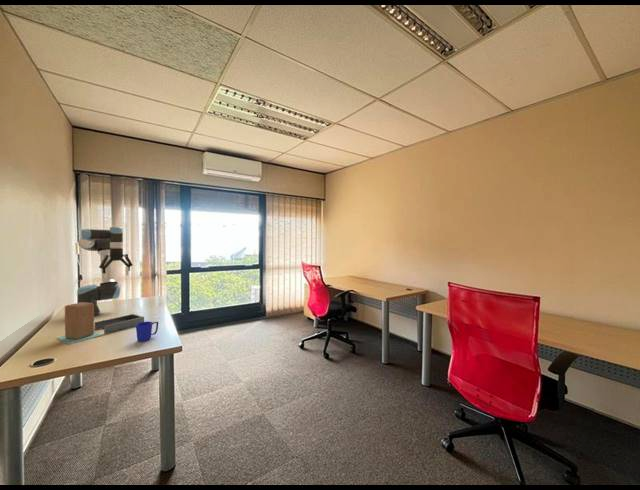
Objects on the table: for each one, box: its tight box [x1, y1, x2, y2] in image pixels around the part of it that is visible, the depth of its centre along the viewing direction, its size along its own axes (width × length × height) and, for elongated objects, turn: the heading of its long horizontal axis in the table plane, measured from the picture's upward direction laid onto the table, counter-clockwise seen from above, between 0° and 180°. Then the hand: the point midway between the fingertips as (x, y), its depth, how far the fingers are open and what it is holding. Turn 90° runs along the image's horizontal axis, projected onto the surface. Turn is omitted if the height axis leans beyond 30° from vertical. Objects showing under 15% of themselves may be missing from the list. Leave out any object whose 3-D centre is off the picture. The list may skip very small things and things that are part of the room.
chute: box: [94, 313, 145, 335], centre depth 180 cm, size 15×23×5 cm, turn 151°
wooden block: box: [64, 302, 95, 339], centre depth 161 cm, size 10×10×20 cm
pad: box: [56, 331, 103, 345], centre depth 161 cm, size 18×16×1 cm
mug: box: [135, 321, 159, 343], centre depth 158 cm, size 8×12×10 cm
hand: (116, 276), depth 192 cm, fingers open, 13 cm apart
